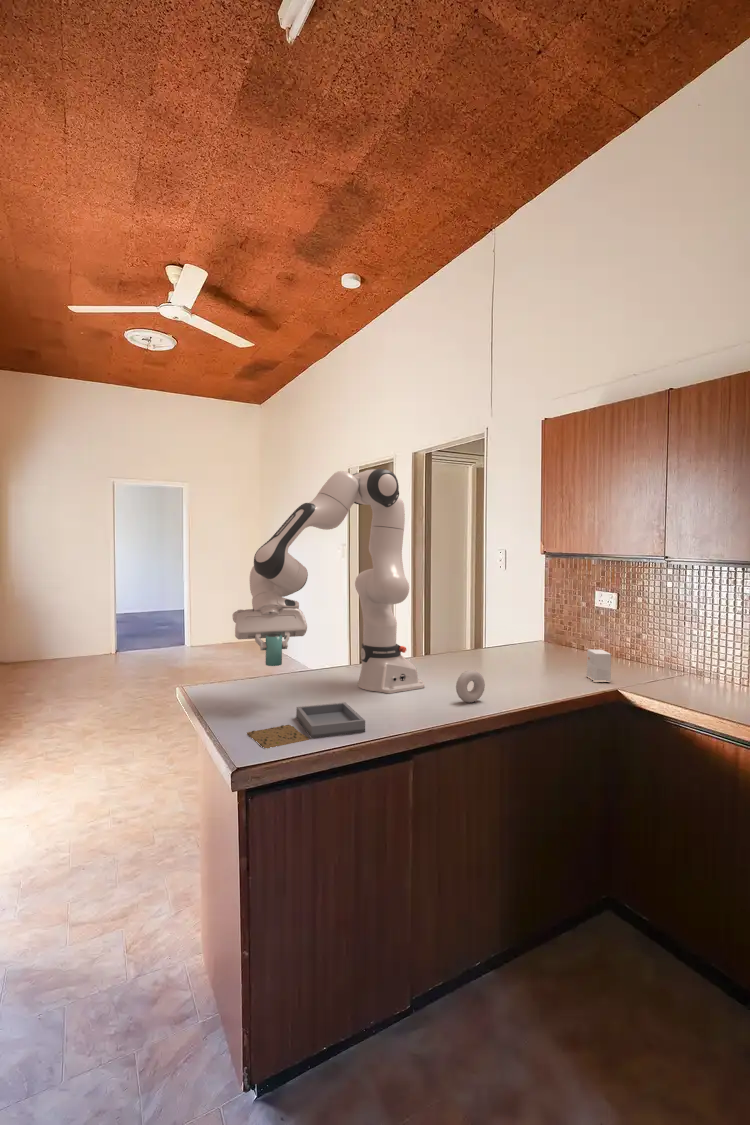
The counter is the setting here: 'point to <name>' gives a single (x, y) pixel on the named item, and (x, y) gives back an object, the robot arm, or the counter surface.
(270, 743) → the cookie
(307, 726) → the tray
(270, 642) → the cup
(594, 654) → the small box
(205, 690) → the counter surface
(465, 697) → the donut
